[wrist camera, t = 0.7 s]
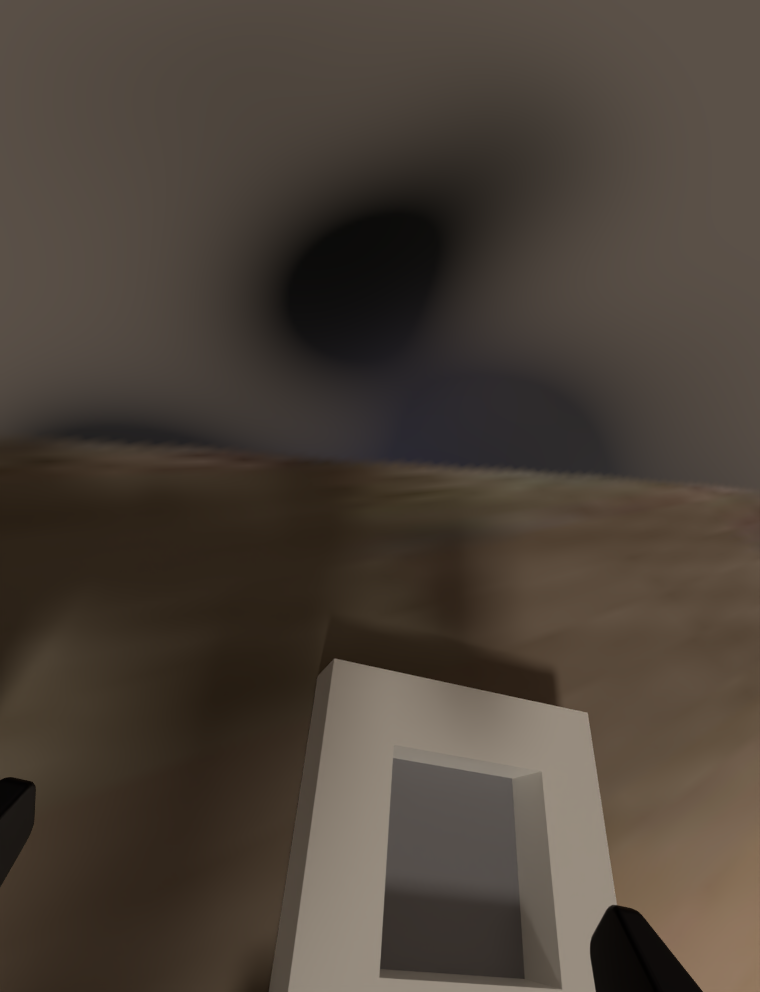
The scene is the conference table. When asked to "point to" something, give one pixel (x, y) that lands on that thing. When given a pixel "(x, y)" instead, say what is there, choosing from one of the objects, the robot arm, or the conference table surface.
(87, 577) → the conference table surface
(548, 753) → the socket plate
